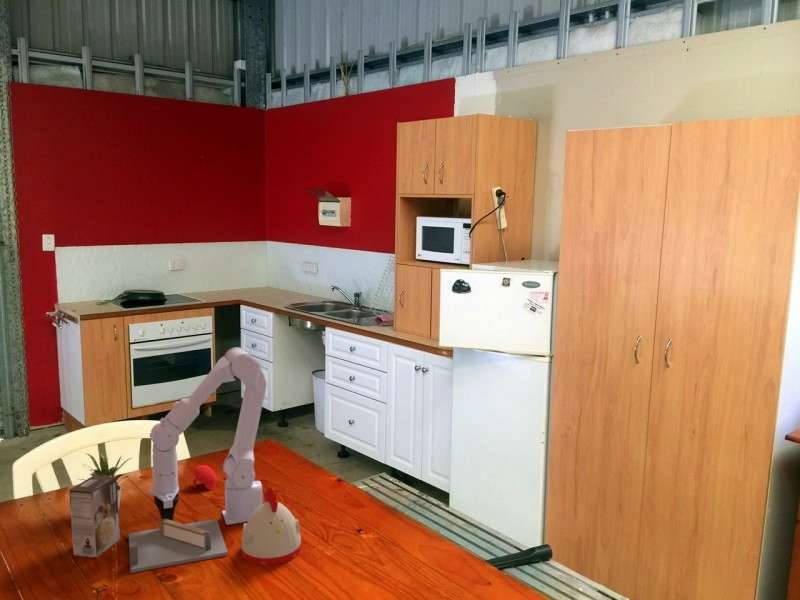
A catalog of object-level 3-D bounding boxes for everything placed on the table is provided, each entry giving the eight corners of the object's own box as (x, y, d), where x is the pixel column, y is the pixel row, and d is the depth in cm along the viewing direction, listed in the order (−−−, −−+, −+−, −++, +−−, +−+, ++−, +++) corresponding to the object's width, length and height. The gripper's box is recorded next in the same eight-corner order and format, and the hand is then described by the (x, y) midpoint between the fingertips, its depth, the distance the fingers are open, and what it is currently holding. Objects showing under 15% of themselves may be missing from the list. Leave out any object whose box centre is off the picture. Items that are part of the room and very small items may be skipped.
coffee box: (97, 536, 166) (94, 474, 164) (121, 539, 165) (118, 476, 163) (72, 555, 157) (68, 489, 155) (97, 558, 156) (93, 492, 154)
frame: (216, 522, 174) (216, 503, 174) (227, 555, 158) (227, 534, 157) (128, 536, 166) (127, 517, 166) (130, 573, 150) (129, 551, 149)
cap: (184, 476, 196) (192, 470, 192) (200, 463, 200) (208, 458, 196) (201, 498, 196) (209, 493, 192) (216, 485, 200) (225, 480, 196)
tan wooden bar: (207, 545, 160) (207, 531, 159) (203, 548, 159) (203, 533, 158) (164, 531, 166) (163, 518, 166) (159, 534, 165) (159, 520, 165)
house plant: (60, 517, 176) (57, 457, 174) (102, 497, 189) (99, 440, 186) (103, 528, 171) (99, 465, 168) (143, 505, 183) (140, 447, 181)
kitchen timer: (250, 570, 152) (248, 506, 150) (234, 543, 164) (233, 483, 162) (309, 556, 158) (308, 494, 156) (290, 531, 170) (289, 474, 168)
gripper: (146, 463, 173) (148, 514, 174) (149, 485, 159) (151, 539, 161) (175, 459, 175) (177, 509, 177) (181, 480, 162) (182, 534, 164)
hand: (167, 523), depth 169 cm, fingers closed
